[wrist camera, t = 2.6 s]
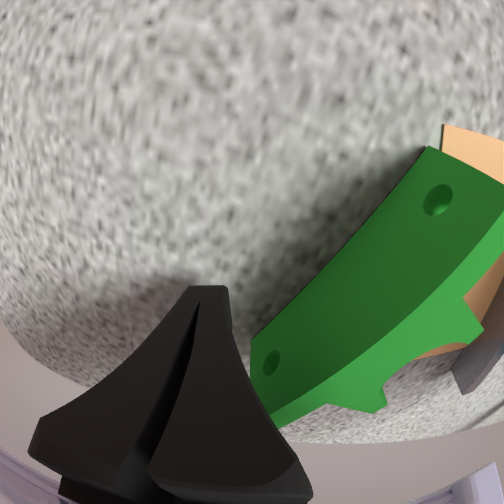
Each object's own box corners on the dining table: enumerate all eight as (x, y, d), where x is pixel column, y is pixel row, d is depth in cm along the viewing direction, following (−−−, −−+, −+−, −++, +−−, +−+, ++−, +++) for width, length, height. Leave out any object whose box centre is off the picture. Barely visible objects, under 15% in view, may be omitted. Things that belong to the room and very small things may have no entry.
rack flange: (564, 123, 6) (595, 137, 4) (478, 360, 15) (490, 384, 13) (445, 59, 6) (490, 59, 4) (367, 387, 16) (375, 419, 13)
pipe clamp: (310, 362, 14) (318, 440, 10) (250, 338, 13) (246, 426, 9) (474, 205, 9) (543, 267, 5) (429, 144, 8) (519, 194, 4)
